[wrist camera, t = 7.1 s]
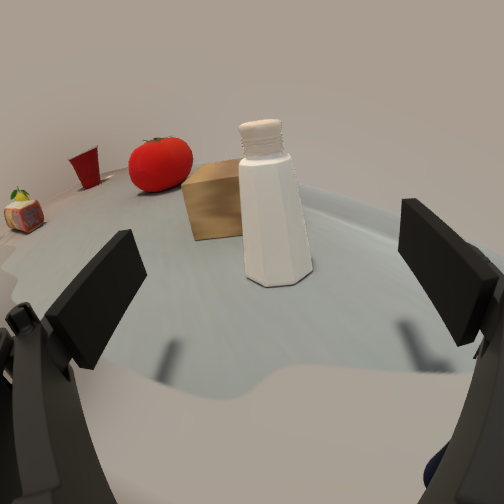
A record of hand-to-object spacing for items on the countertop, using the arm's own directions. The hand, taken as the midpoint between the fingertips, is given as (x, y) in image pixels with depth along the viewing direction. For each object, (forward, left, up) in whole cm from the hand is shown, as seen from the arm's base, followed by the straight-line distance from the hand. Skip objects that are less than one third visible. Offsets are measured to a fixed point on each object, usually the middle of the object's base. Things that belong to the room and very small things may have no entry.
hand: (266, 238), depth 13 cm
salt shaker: (0, -7, -6) cm, 10 cm away
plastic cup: (+57, -63, -6) cm, 85 cm away
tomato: (+21, -39, -6) cm, 45 cm away
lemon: (+79, -50, -6) cm, 94 cm away
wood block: (+4, -18, -6) cm, 20 cm away
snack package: (+60, -34, -6) cm, 69 cm away
